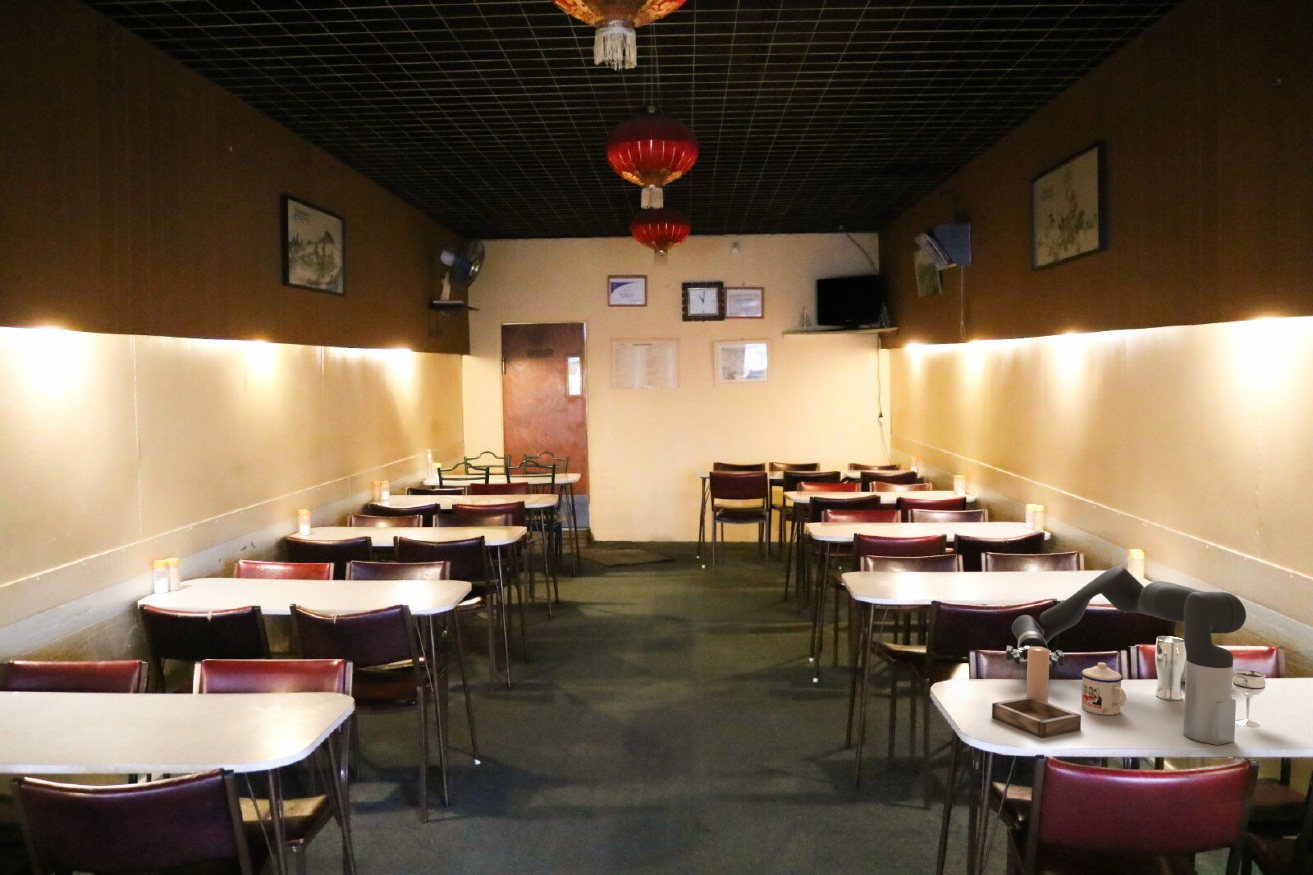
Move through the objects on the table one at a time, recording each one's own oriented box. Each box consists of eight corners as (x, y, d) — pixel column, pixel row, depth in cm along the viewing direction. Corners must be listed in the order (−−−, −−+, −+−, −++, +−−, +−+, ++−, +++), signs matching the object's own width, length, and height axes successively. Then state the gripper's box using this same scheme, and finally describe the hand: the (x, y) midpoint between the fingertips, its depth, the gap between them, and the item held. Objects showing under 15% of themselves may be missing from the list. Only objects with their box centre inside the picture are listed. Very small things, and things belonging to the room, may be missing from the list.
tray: (1080, 730, 223) (1081, 715, 223) (1042, 738, 218) (1042, 723, 217) (1029, 710, 236) (1029, 696, 236) (991, 717, 231) (992, 703, 231)
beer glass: (1177, 693, 251) (1179, 636, 250) (1189, 701, 244) (1191, 643, 243) (1149, 692, 252) (1151, 635, 251) (1160, 700, 245) (1162, 642, 244)
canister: (1052, 706, 240) (1053, 650, 239) (1037, 709, 238) (1039, 652, 237) (1036, 700, 244) (1037, 645, 244) (1021, 703, 242) (1023, 648, 241)
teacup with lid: (1072, 705, 240) (1073, 659, 240) (1101, 702, 243) (1103, 656, 243) (1108, 721, 229) (1110, 673, 228) (1139, 718, 232) (1140, 670, 231)
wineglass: (1270, 725, 227) (1272, 675, 227) (1254, 730, 224) (1256, 679, 224) (1240, 716, 233) (1242, 667, 233) (1224, 721, 230) (1226, 671, 229)
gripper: (1005, 631, 268) (1007, 645, 252) (1061, 635, 263) (1065, 650, 248) (1004, 658, 268) (1006, 674, 253) (1060, 663, 263) (1065, 679, 248)
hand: (1035, 662), depth 250 cm, fingers open, 8 cm apart
